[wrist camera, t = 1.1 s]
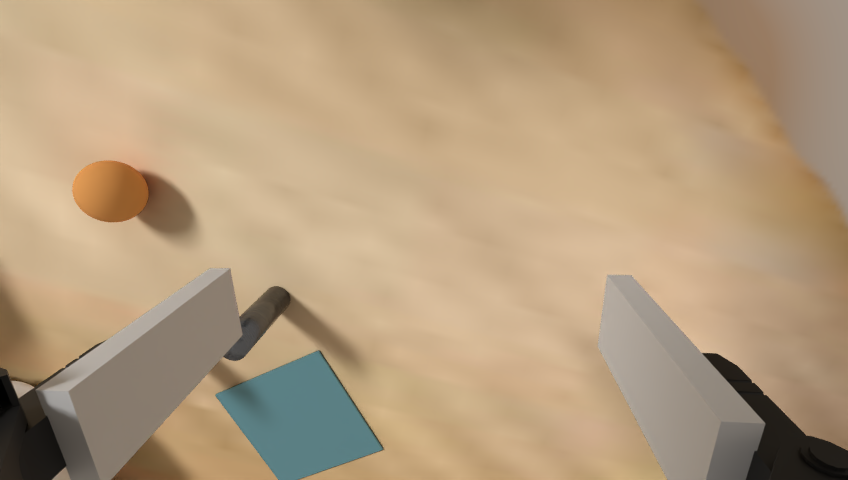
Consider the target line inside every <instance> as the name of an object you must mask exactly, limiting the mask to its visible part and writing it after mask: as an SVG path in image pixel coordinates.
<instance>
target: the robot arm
mask: <svg viewBox="0 0 848 480" xmlns="http://www.w3.org/2000/svg"><path fill="white" fill-rule="evenodd" d="M242 335H243V334H242V329H241V323H240V318H239V313H238V308H237V302H236V297H235V292H234V286H233V281H232V276H231V270H230V269H228V268H210V269H208V270H207V271H205V272H204V273H202V274H201V275H200V276H198V277H197V278H195V279H194V280H192V281H191V282H189V283H188V284H187V285H185V286H184V287H182V288H181V289H179V290H178V291H177V292H175V293H174V294H172V295H171V296H169V297H168V298H167V299H165V300H164V301H162V302H161V303H159V304H158V305H156V306H155V307H154V308H152V309H151V310H149V311H148V312H146V313H145V314H144V315H142V316H141V317H139V318H138V319H136V320H135V321H134V322H132V323H131V324H129V325H128V326H126V327H125V328H123V329H122V330H121V331H119V332H118V333H116V334H115V335H113V336H112V337H111V338H109V339H108V340H106V341H103V342H101V343H99V344H97V345H95V346H94V347H92V348H91V349H89V350H88V351H86V352H85V353H83V354H82V355H81V356H79V359H75V360H73V361H72V362H70V363H69V364H67V365H66V367H65V368H62V369H60V370H59V371H57V372H56V373H54V374H53V375H52V376H50V377H49V378H47V379H46V380H44V381H43V382H41V383H40V384H38V385H37V386H36V387H34V388H33V389H31V390H30V391H28V392H27V393H25V394H24V395H23V396H21V397H20V398H18V396H17V394H16V391H15V389H14V386H13V384H12V382H11V379H10V377H9V374H8V372H7V370H6V369H3V368H0V480H52V479H53V478H54V477H55V476H56V475H57V474H58V473H59V472H61V471H62V470H63V469H64V468H65V467H66V469H67V471H68V474H69V477H70V479H71V480H111V479H112V478H113V477H114V476H115V475H116V474H117V473H118V472H119V471H120V469H121V468H122V467H123V466H124V465H125V464H126V463H127V462H128V461H129V460H130V458H131V457H132V456H133V455H134V454H135V453H136V452H137V451H138V450H139V449H140V447H141V446H142V445H143V444H144V443H145V442H146V441H147V440H148V439H149V438H150V436H151V435H152V434H153V433H154V432H155V431H156V430H157V429H158V428H159V427H160V425H161V424H162V423H163V422H164V421H165V420H166V419H167V418H168V417H169V416H170V414H171V413H172V412H173V411H174V410H175V409H176V408H177V407H178V406H179V405H180V403H181V402H182V401H183V400H184V399H185V398H186V397H187V396H188V395H189V394H190V392H191V391H192V390H193V389H194V388H195V387H196V386H197V385H198V384H199V383H200V381H201V380H202V379H203V378H204V377H205V376H206V375H207V374H208V373H209V372H210V370H211V369H212V368H213V367H214V366H215V365H216V364H217V363H218V362H219V361H220V359H221V358H222V357H223V356H224V355H225V354H226V353H227V352H228V351H229V349H230V348H231V347H232V346H233V345H234V344H235V343H236V342H237V341H238V340H239V338H240V337H241V336H242ZM598 348H599V350H600V352H601V354H602V355H603V357H604V359H605V361H606V363H607V365H608V367H609V369H610V371H611V373H612V375H613V377H614V378H615V380H616V382H617V384H618V386H619V388H620V390H621V392H622V394H623V396H624V398H625V400H626V401H627V403H628V405H629V407H630V409H631V411H632V413H633V415H634V417H635V419H636V421H637V423H638V424H639V426H640V428H641V430H642V432H643V434H644V436H645V438H646V440H647V442H648V444H649V446H650V447H651V449H652V451H653V453H654V455H655V457H656V459H657V461H658V463H659V465H660V467H661V469H662V470H663V472H664V474H665V476H666V478H667V480H848V451H847V450H845V449H843V448H841V447H839V446H837V445H835V444H833V443H831V442H828V441H825V440H822V439H819V438H815V437H812V436H806V435H805V434H804V433H803V432H802V431H801V430H800V429H799V428H798V427H797V426H796V425H795V424H794V423H793V422H792V421H791V420H790V419H789V418H788V417H787V416H786V415H785V413H784V412H783V411H782V410H781V409H780V408H779V407H778V406H777V405H776V404H775V403H774V402H773V401H772V400H771V399H770V398H769V397H768V396H767V395H764V394H763V391H762V390H761V389H760V388H759V387H758V386H757V385H756V384H755V383H752V380H751V379H750V378H749V377H748V376H747V375H746V374H745V373H744V372H743V371H742V370H741V369H740V368H739V367H738V366H737V365H735V364H733V363H732V362H730V361H728V360H727V359H725V358H723V357H722V356H720V355H718V354H713V353H701V352H700V351H699V350H698V348H697V347H696V346H695V345H694V344H693V343H692V342H691V341H690V340H689V338H688V337H687V336H686V335H685V334H684V333H683V332H682V331H681V330H680V329H679V327H678V326H677V325H676V324H675V323H674V322H673V321H672V320H671V319H670V317H669V316H668V315H667V314H666V313H665V312H664V311H663V310H662V309H661V308H660V306H659V305H658V304H657V303H656V302H655V301H654V300H653V299H652V298H651V296H650V295H649V294H648V293H647V292H646V291H645V290H644V289H643V288H642V287H641V285H640V284H639V283H638V282H637V281H636V280H635V279H634V278H633V277H632V275H607V280H606V287H605V295H604V302H603V310H602V317H601V325H600V332H599V340H598Z"/></svg>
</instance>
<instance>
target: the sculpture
mask: <svg viewBox="0 0 848 480" xmlns="http://www.w3.org/2000/svg"><path fill="white" fill-rule="evenodd" d="M11 382H12V384H13V386H14V389H15V391H16V394H17V396H18V398H20V397H21V396H23V395H24V394H25V393H27V392H28V391H30V390H31V389H33V388H34V387H33V386H31V385H30V384H27V383H24V382H19V381H11ZM52 480H71V479H70V477H69V474H68V471H67V469H66V467H65V468H64V469H63V470H62V471H61V472H59V473H58V474H57V475H56V476H55V477H54V478H53V479H52Z"/></svg>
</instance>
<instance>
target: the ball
mask: <svg viewBox="0 0 848 480" xmlns="http://www.w3.org/2000/svg"><path fill="white" fill-rule="evenodd" d="M72 191H73V197H74V199H75V202H76V203H77V205H78V206H79V208H80V209H81V210H82V211H83V212H85V213H86V214H87V215H89V216H90V217H92V218H95V219H97V220H100V221H105V222H122V221H126V220H129V219H131V218H133V217H135V216H136V215H138V214H139V213H140V212H141V211H142V210H143V209H144V207H145V205H146V204H147V201H148V196H149V191H148V186H147V183H146V181H145V179H144V178H143V176H142V175H141V174H140V173H139V172H138V171H137V170H135V169H134V168H133V167H131V166H129V165H127V164H124V163H121V162H117V161H99V162H95V163H92V164H90V165H88V166H86V167H85V168H83V169H82V170H81V171H80V172H79V173H78V174H77V176H76V178H75V180H74V182H73V189H72Z"/></svg>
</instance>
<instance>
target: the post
mask: <svg viewBox="0 0 848 480" xmlns="http://www.w3.org/2000/svg"><path fill="white" fill-rule="evenodd" d="M289 304H290V296H289V294H288V292H287V291H286V290H285V289H283V288H281V287H278V286H274V287H271V288H269V289H268V290H267V291H266V292H265V293H264V294H263V295H262V296H261V297H260V298H259V299H258V300H257V301H256V302H254V303H253V304H252V305H251V306H250V307H249V308H248V309H247V310H246V311H245V312H244V313H243V314H242V315H241V316H240V317H239V318H240V323H241V329H242V334H243V335H242V336H241V337H240V338H239V340H238V341H237V342H236V343H235V344H234V345H233V346H232V347H231V348H230V349H229V351H228V352H227V353H226V354H225V355H224V356H223V357H225V358H226V359H229V360H233V361H236V360H240V359H242V358H244V357H245V355H246V354H247V353H248V352H249V351H250V350H251V348H252V347H253V346H254V345H255V344H256V343H257V341H258V340H259V339H260V338H261V337H262V336H263V334H264V333H265V332H266V331H267V330H268V329H269V327H270V326H271V325H272V324H273V323H274V322H275V321H276V319H277V318H278V317H279V316H280V315H281V314H282V312H283V311H284V310H285V309H286V308H287V307H288V305H289Z"/></svg>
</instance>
